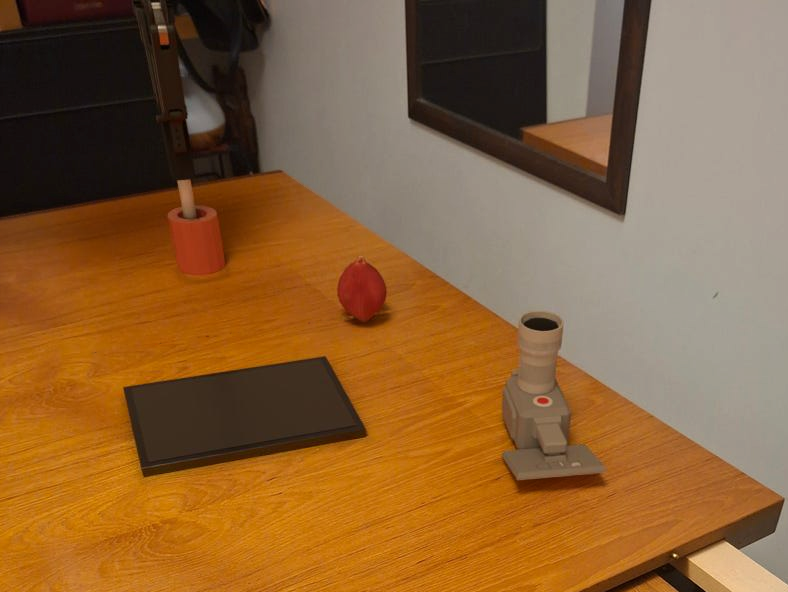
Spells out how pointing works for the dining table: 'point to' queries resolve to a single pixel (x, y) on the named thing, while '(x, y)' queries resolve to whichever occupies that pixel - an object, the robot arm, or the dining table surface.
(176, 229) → the pen pot
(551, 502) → the dining table surface
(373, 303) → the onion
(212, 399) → the tablet
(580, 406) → the dining table surface
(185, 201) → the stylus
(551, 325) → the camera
